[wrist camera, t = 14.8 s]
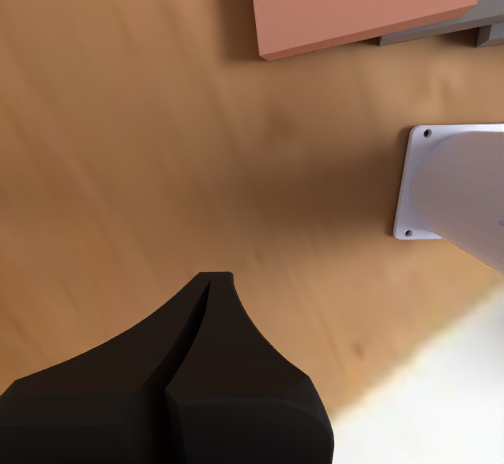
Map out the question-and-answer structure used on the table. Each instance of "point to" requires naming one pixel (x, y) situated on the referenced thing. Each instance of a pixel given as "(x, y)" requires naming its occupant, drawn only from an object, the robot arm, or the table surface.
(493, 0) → the domino
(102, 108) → the table surface
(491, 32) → the domino
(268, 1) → the red domino
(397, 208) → the robot arm
